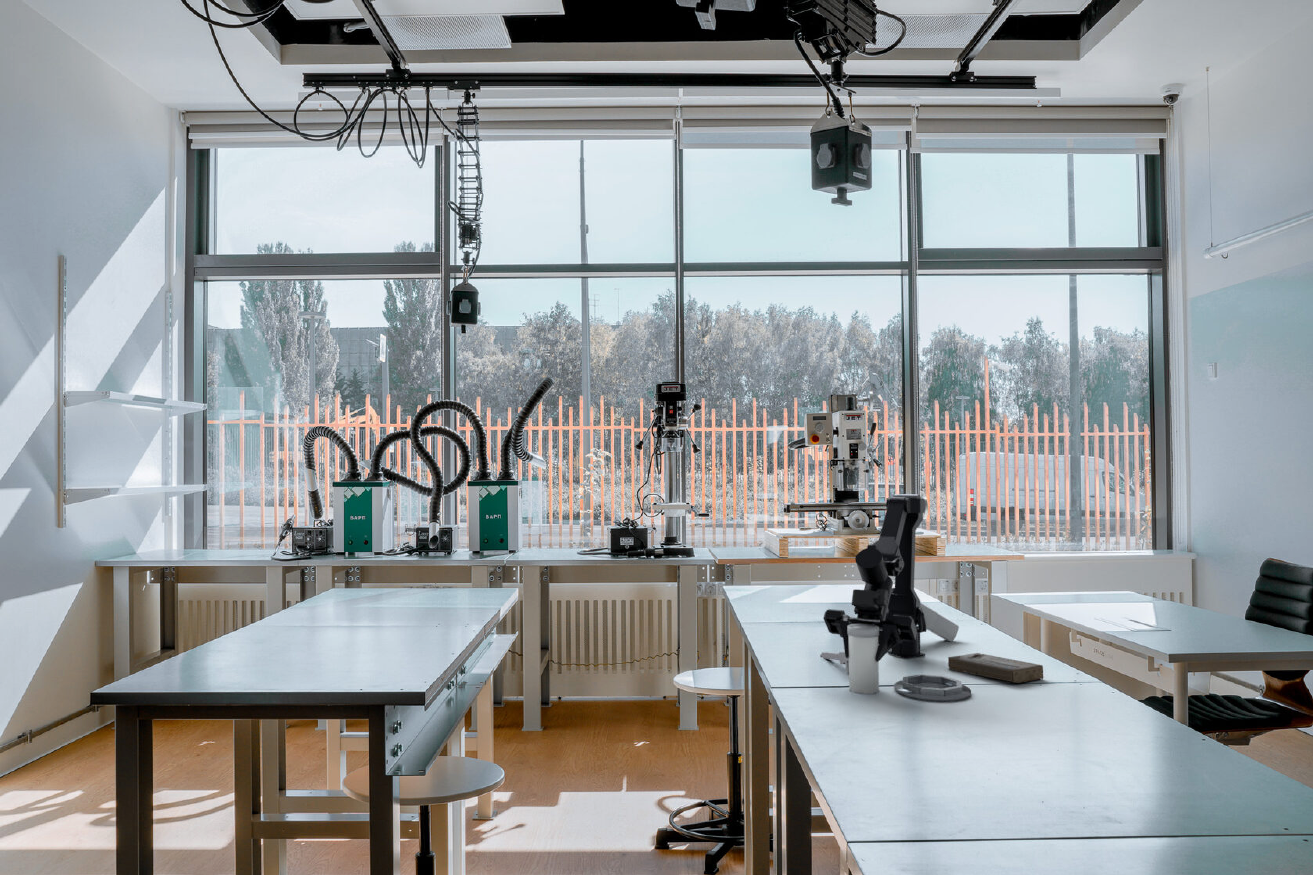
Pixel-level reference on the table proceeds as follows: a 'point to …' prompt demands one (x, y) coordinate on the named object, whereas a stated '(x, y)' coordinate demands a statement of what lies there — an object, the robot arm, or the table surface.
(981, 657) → the box
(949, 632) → the handheld device
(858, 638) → the capped white cylinder
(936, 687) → the collar
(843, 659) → the caliper
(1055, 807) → the table surface
